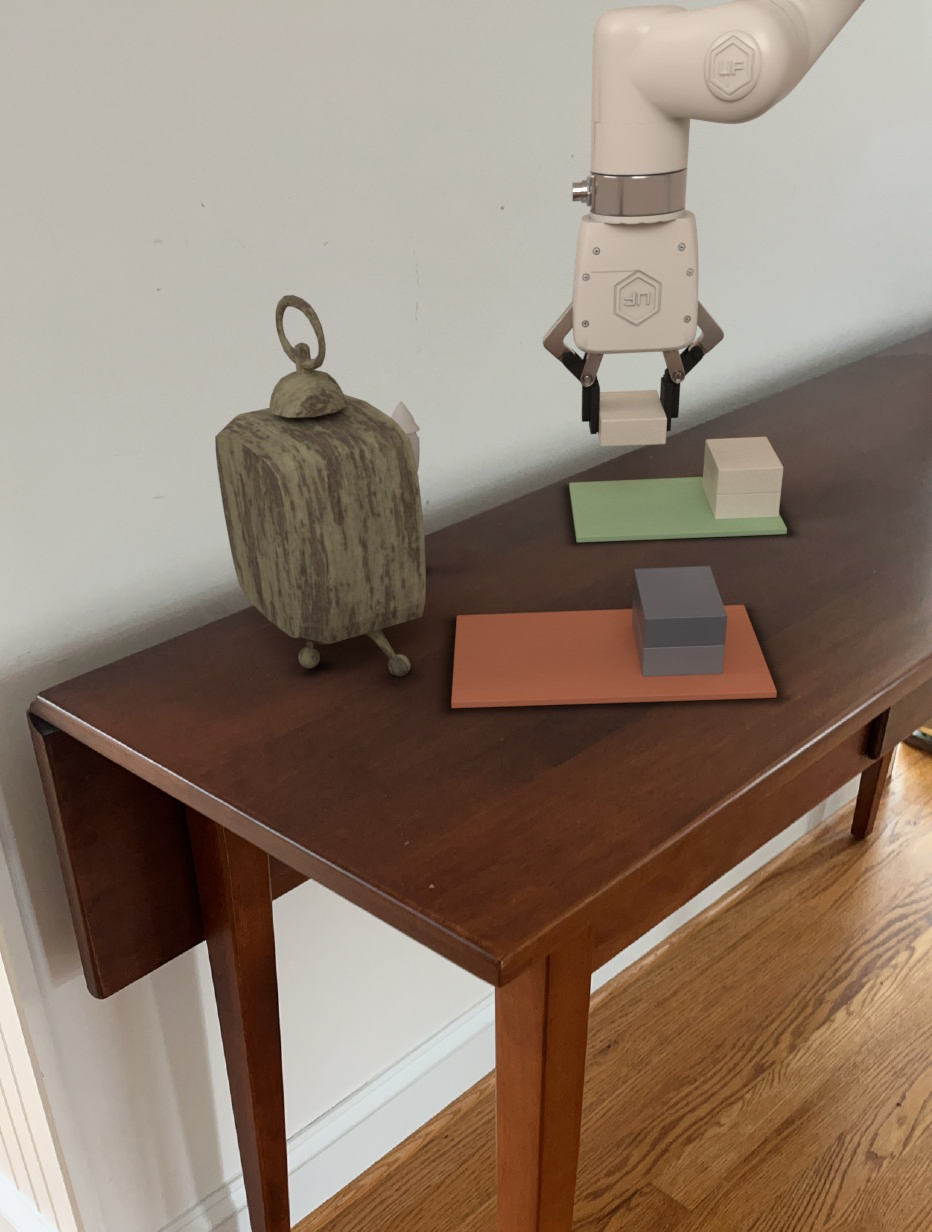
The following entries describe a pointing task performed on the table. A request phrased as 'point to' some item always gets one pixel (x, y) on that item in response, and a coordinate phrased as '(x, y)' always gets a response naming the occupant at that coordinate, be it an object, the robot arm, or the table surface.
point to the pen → (408, 428)
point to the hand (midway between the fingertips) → (629, 425)
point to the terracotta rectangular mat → (588, 662)
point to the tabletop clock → (323, 509)
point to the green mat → (655, 512)
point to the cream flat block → (631, 418)
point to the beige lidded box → (742, 478)
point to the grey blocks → (678, 621)
